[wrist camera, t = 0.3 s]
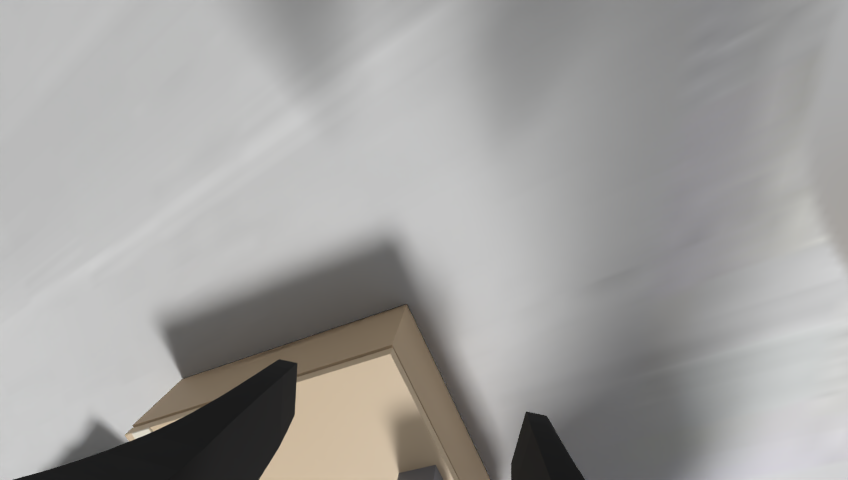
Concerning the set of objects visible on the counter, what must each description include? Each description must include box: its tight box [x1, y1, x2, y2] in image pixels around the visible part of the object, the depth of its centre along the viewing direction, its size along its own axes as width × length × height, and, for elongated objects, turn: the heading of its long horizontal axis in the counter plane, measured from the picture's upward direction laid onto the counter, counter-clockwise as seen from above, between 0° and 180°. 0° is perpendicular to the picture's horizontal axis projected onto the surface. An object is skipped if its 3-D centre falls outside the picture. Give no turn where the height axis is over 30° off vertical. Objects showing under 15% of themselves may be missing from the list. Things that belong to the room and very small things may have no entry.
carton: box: [133, 304, 490, 480], centre depth 24 cm, size 15×16×4 cm
